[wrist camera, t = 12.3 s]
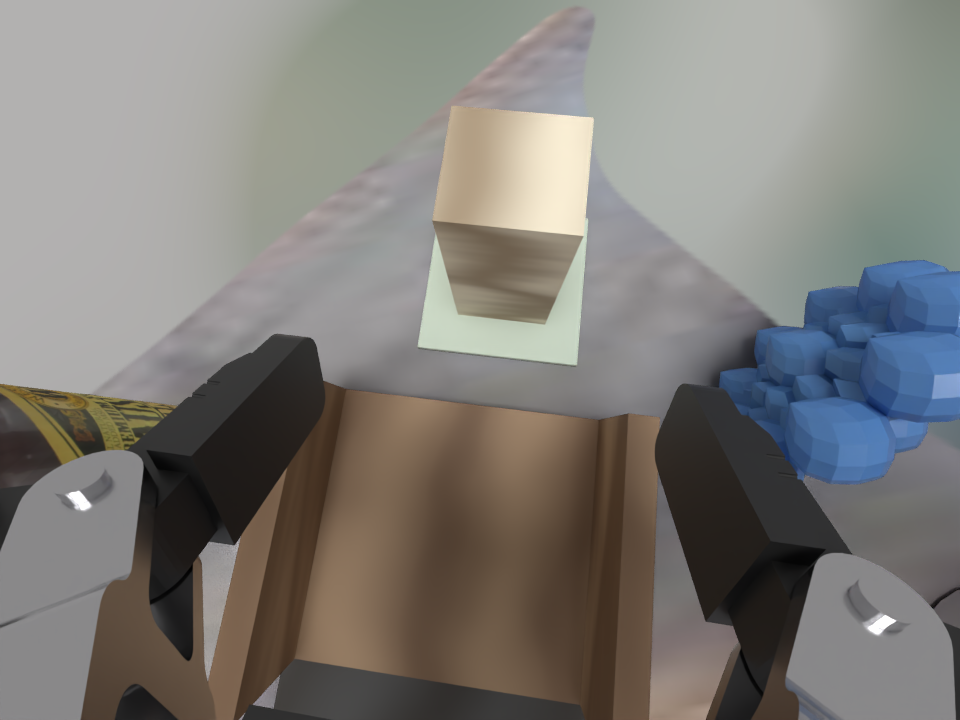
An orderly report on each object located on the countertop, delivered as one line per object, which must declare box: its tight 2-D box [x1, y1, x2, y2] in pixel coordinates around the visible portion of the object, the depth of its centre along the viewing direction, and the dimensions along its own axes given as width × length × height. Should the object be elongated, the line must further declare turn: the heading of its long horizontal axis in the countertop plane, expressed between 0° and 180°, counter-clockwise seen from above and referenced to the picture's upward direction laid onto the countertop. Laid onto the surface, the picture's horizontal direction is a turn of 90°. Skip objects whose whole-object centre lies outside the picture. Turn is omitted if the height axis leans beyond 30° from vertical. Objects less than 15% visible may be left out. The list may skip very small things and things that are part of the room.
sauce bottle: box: [0, 384, 177, 488], centre depth 12 cm, size 6×6×20 cm
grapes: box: [719, 260, 960, 484], centre depth 16 cm, size 12×7×12 cm, turn 137°
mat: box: [418, 219, 588, 367], centre depth 24 cm, size 9×9×1 cm
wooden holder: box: [208, 381, 660, 720], centre depth 17 cm, size 15×21×6 cm
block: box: [432, 106, 594, 325], centre depth 19 cm, size 5×4×10 cm
